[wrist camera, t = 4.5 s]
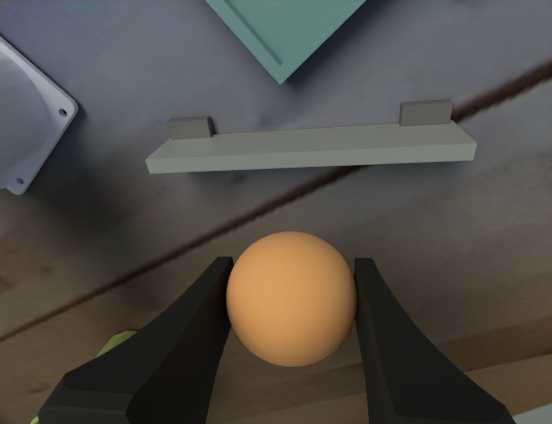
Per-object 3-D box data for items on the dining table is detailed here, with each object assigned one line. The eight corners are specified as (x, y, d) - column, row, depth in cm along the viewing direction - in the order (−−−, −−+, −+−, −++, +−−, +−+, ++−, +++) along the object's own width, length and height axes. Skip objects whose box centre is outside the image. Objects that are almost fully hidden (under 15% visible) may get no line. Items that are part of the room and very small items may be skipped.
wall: (455, 98, 17) (482, 118, 14) (446, 153, 18) (468, 181, 16) (166, 119, 20) (138, 139, 17) (179, 165, 21) (155, 191, 18)
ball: (291, 308, 17) (280, 409, 13) (219, 246, 15) (179, 339, 11) (375, 262, 15) (396, 367, 10) (301, 185, 13) (289, 271, 9)
